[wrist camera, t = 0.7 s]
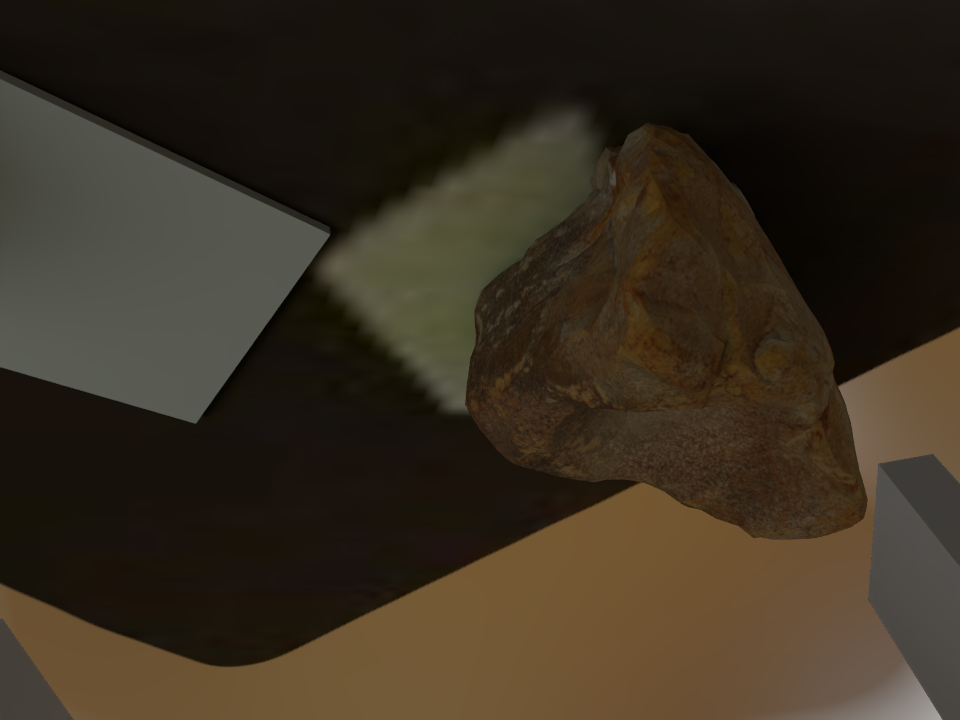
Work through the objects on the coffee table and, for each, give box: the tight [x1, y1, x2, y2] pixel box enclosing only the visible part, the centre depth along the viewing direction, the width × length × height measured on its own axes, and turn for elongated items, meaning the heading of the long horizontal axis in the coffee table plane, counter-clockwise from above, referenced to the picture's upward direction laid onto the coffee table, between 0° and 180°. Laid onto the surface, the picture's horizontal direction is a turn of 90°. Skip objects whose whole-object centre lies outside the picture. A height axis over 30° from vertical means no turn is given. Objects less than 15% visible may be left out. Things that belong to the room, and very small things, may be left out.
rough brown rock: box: [465, 123, 867, 540], centre depth 38 cm, size 23×17×15 cm
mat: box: [0, 70, 330, 423], centre depth 36 cm, size 14×14×1 cm
